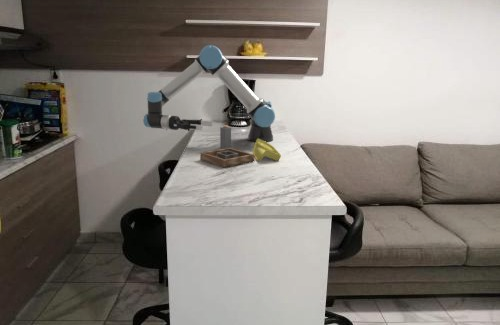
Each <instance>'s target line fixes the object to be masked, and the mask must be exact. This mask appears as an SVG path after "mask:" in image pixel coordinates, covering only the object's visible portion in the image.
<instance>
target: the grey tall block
mask: <svg viewBox="0 0 500 325" xmlns="http://www.w3.org/2000/svg"><path fill="white" fill-rule="evenodd" d="M219 128H220V130H219V131H220V132H219V133H220V134H219V136H220V140H219V141H220V142H219V143H220V144H219V146H220V147H219V150H220V149H225V148H232V127H230V126H229V125H228V124H226V125H225V124H224V125H223V126H221V127H219Z"/></svg>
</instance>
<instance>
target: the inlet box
mask: <svg viewBox="0 0 500 325" xmlns="http://www.w3.org/2000/svg"><path fill="white" fill-rule="evenodd" d="M199 160H200V161H202V162H205V163H208V164H210V165H214V166H217V167H220V168H222V169H226V168H231V167H237V166H241V165H246V164H250V163H254V162H255V158H254V154H253V153H250V152H246V151H243V150H239V149H236V148H232V147H231V148H225V149H220V148H219V149H214V150H209V151H205V152H200V159H199ZM253 161H254V162H253ZM249 162H250V163H249ZM245 163H246V164H245Z"/></svg>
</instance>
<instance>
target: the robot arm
mask: <svg viewBox="0 0 500 325" xmlns="http://www.w3.org/2000/svg"><path fill="white" fill-rule="evenodd" d="M229 62H230V60H229V59H228V58H227V57H226V56H225V54H224V53H223V52H222V51H221V49H220V48H219V47H217V46H216V45H214V44H213V45H212V44H208V45H205V46H204V47H202V49H201V50H200V53H199V55H198V56H197V57H196V58H195V59H194V61H193V63H191V64H190V65H188V67H186V68H185V69H184V70H183V71H182V72H181V73H179V74H177V76H176V77H174V78H173V79H172V80H171V81H170V82H169V83H167V84H166V85H165V86H164V87H163V88H161V89H159V91H148V92H147V97H146V98H147V99H146V100H147V113H146V114H145V115H143V119H142V121H143V122H142V123H143V125H144V126H145V127H146V128H151V129H162V130H163V129H164V130H165V131H168V130H171V131H172V130H173V131H177V130H179V129H180V130H186V131H188V132H189V131H191V130H193V131H203V129H204V128H203V127H213V125H214V124H213V123H214V122H213V121H212V120H211V121H210V120H203V119H202V118H200V119H185V118H184V119H181V118H180V117H179V116H178V115H169V114H163V106H165V104H167V103H168V102H169V101H170V100H172V99H173V98H174V97H175V96H176V95H178V94H179V93H181V91H182V90H184V89H185V88H186V87H188V86H189V85H190V84H191V83H192V82H194V81H195V80H196V79H197V78H198V77H200V76H201V75H202V74H207V73H208V72H209V73H210V74H211V75H212V76H215V77H217V78H219V80H220V81H221V83H223V84H224V85H225V86H226V88H228V90H230V92H231V93H232V94H233V95H234V96H235V97H236V98H237V100H238V101H239V102H240V103H241V104H242V105H243V106H244V107H245V109H246V113H247V115H248V116H249V117H250V118H251V119H250V121H251V122H250V129H249V132H248V133H249V134H248V135H247V140H248V139H249V140H248V141H250V140H252V141H251V142H255V141H256V140H257V139H260V140H263V141H269V142H271V140H272V141H274V134H273V132H272V128H271V125H273V124H274V122H275V119H276V113H275V111H274V109H273V108H272V107H273V106H272V102H271V101H269V100H264V98H261V97H258V96H257V95H256V94H255V92H254V91H252V89H251V88H250V87H249V86H248V84H246V82H245V81H243V79H242V78H241V77H240V76H239V74H237V72H236V71H235V70H234V69H233V68H232V66H230V63H229Z"/></svg>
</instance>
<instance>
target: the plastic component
mask: <svg viewBox="0 0 500 325" xmlns="http://www.w3.org/2000/svg"><path fill="white" fill-rule="evenodd" d="M252 154H254V160H255V161H256V162H260V161H262V160H263V158H265V157H266V158H269V159H271V160H273V161H275V162H279V161H280V159H281V157H282V155H281V153H280V152H279V150H277V149H276V147H275V146H273V145H272V144H270V143H269V142H265V141H263V140H260V139H257V140H256V142H255V141H254V144H253V148H252Z"/></svg>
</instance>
